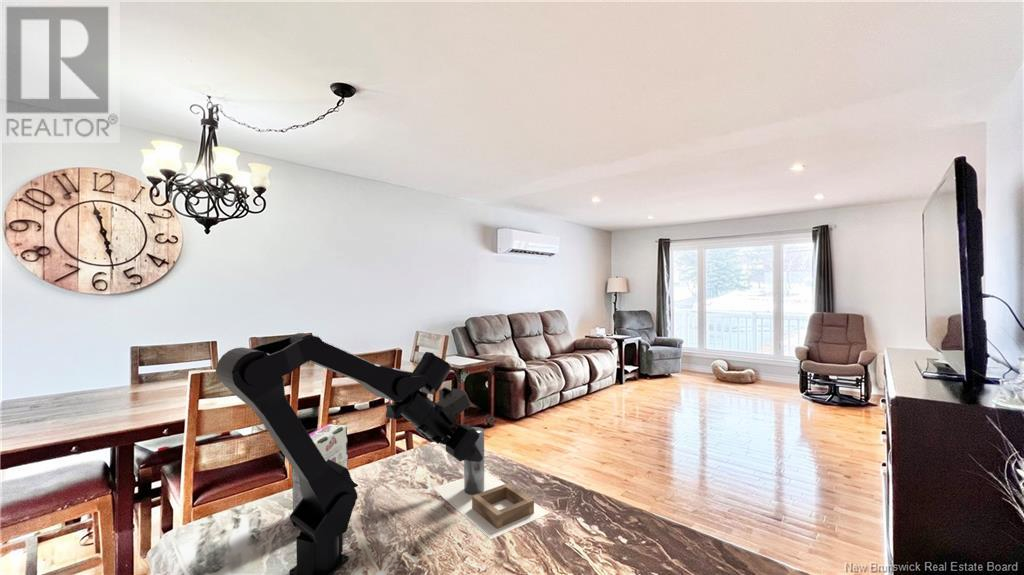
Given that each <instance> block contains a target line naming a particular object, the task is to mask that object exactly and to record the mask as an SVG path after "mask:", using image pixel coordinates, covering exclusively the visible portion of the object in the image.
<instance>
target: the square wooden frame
mask: <svg viewBox="0 0 1024 575" xmlns="http://www.w3.org/2000/svg"><path fill="white" fill-rule="evenodd" d="M505 499H507V500H508V501H510V502H511V503H513V505H511V506H509V507H506V508H504V509H501V510H497V509H496V508H495V507H493V506H492V504H495V503H497V502H500V501H502V500H505ZM534 503H535V500H534V499H533V498H531V497H530V496H528V495H527V494H525V493H523V492H522V491H520V490H519V489H517V488H515V487H514V486H513V485H511V484H510V483H509V482H507V483H505V484H504V485H501V486H498V487H496V488H493V489H490V490H487V491H484V492H482V493H479V494H476V495H473V496H472V509H473V510H475V511H476V512H477V513H478V514H480V515H481V516H482V517H483V518H484V519H486V520H487V521H488V522H489V523H490V524H492V525H493V526H494V527H495V528H496V529H498V528H501V527H503V526H505V525H508V524H510V523H512V522H514V521H517V520H519V519H521V518H524V517H526V516H528V515H531V514H533V513H534Z"/></svg>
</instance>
